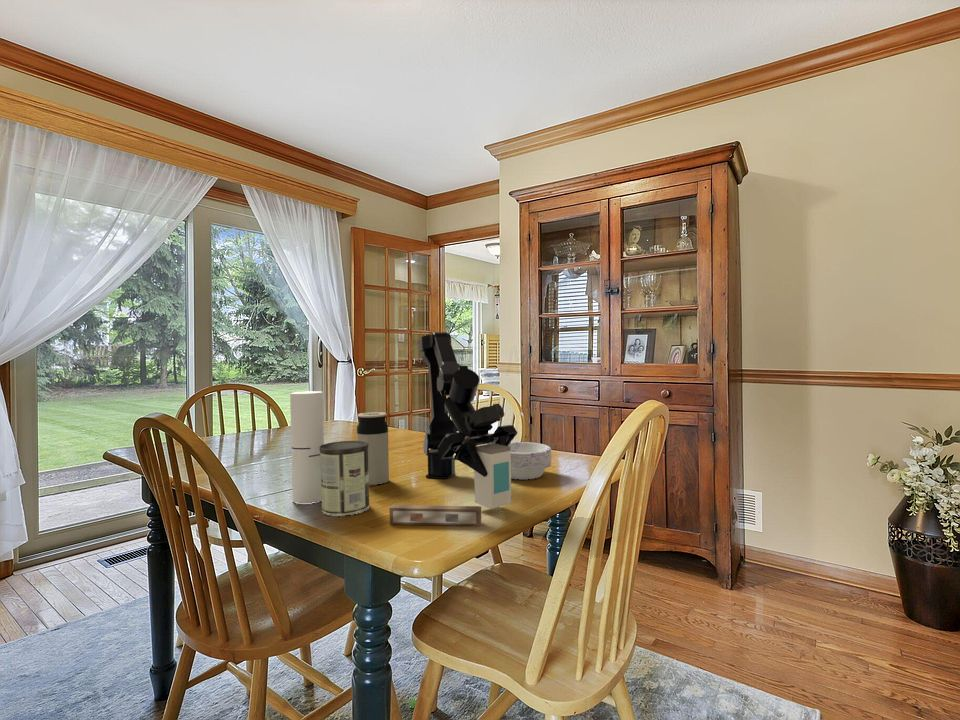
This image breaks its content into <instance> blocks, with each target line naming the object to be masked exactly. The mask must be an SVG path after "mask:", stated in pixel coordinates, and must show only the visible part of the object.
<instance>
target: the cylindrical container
mask: <svg viewBox="0 0 960 720" xmlns="http://www.w3.org/2000/svg"><path fill="white" fill-rule="evenodd" d="M289 398H290V399H289V401H290V405H289V406H290V440H291V441H290V442H291V444H290V445H291V449H290V450H291V452H290V453H291V482H292V483H291V484H292V485H291V488H292V495H291V496H292V502H293V501H294V502H298V503H312V502H318V501H321V500H322V496H321V463H320V449H319V447H320V446H321V445H324V444H325V439H324V438H325V436H324V433H325V432H324V431H325V428H324V392H323V391H318V390H315V391H314V390H312V391H311V390H310V391H295V392H290V393H289Z"/></svg>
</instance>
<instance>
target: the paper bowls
mask: <svg viewBox="0 0 960 720" xmlns="http://www.w3.org/2000/svg"><path fill="white" fill-rule="evenodd" d="M508 446H509V447H511V480H512V479H513V480H517V479H519V481H521V480H522V481H523V480H524V481H528V479H530V480H534V479H535V478H536V479H538V478H541V477H542V476H543V474H544V472H545V470H546V469H548V468H551V466H552V448H551V446H549V445H547V444H544V443H538V442H531V441H530V442H529V441H528V442H526V441H522V442H521V441H520V442H519V441H518V442H517V441H516V442H515V441H514V442H510V444H509V445H508Z"/></svg>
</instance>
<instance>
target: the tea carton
mask: <svg viewBox="0 0 960 720" xmlns="http://www.w3.org/2000/svg"><path fill="white" fill-rule="evenodd" d="M476 451H477V453H478V455H479V457H480V459H481V460H482V462H483V464H484V466H485V468H486V471H487V473H488V474H487V476H486V477H484V476H482V475H481V474H479V473H478V472H476V471H475V470H473V471H474V504H478V505H480V506H481V507H482V506H483V507H485V508H489V509H491V510H492V509H495V508H500V507H502V506H503V507H504V506H507V505H511V504H512V479H511V447H509V446H504V445H499V444H494V443H493V444H483V445H477V446H476Z"/></svg>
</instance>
